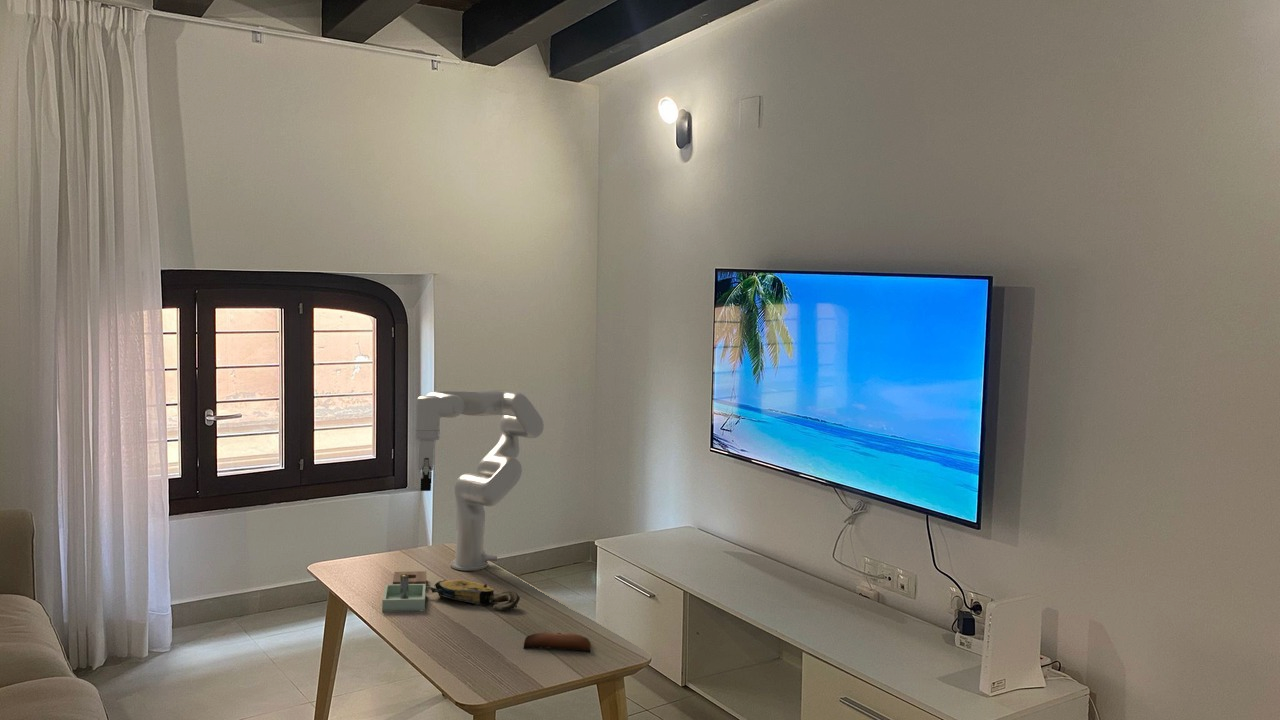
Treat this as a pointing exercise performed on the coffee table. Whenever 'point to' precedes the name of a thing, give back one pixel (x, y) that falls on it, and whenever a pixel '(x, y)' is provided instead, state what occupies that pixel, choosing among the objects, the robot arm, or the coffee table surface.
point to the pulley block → (475, 593)
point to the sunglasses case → (557, 641)
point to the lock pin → (404, 586)
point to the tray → (396, 604)
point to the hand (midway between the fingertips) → (425, 487)
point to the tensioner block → (411, 577)
